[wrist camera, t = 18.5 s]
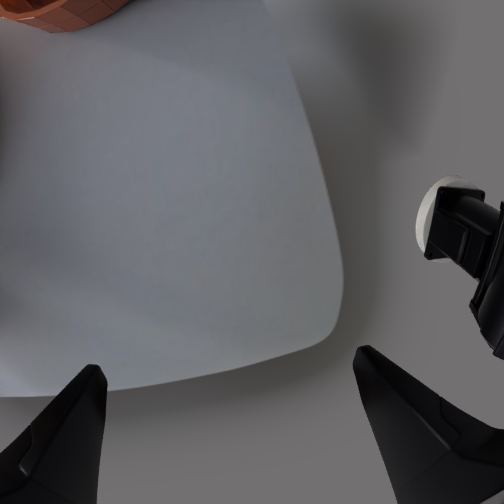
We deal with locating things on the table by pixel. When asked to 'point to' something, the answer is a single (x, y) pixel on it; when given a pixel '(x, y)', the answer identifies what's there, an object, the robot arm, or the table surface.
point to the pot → (58, 13)
